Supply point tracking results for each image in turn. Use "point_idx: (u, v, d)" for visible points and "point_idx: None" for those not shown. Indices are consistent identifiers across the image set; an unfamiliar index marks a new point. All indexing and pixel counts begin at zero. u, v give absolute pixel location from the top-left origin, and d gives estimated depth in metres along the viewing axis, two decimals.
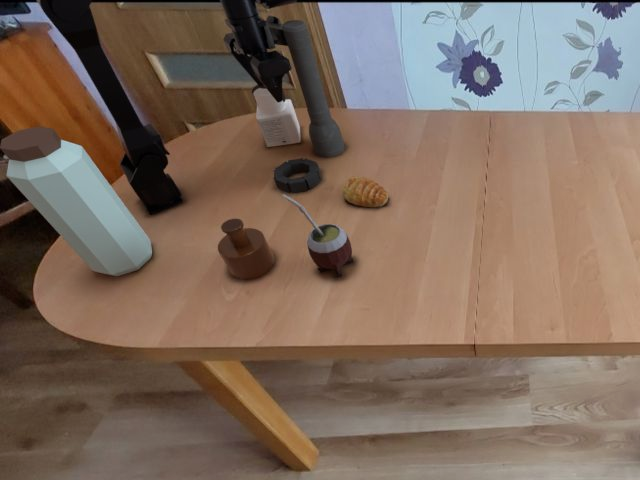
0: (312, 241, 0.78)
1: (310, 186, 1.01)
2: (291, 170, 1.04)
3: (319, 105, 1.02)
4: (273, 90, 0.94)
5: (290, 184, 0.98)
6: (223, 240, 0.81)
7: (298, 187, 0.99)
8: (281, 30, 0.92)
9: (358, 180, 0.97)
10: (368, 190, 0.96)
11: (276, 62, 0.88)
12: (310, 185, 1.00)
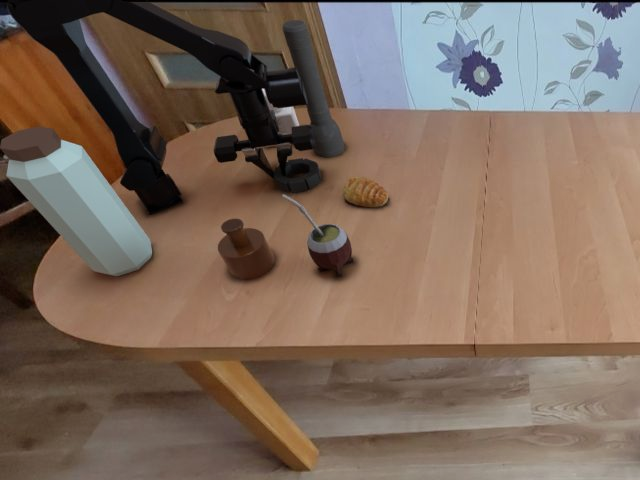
0: (312, 241, 0.78)
1: (310, 186, 1.01)
2: (291, 170, 1.04)
3: (319, 105, 1.02)
4: (285, 166, 0.99)
5: (290, 184, 0.98)
6: (223, 240, 0.81)
7: (298, 187, 0.99)
8: (272, 112, 0.96)
9: (358, 180, 0.97)
10: (368, 190, 0.96)
11: (311, 131, 0.97)
12: (310, 185, 1.00)
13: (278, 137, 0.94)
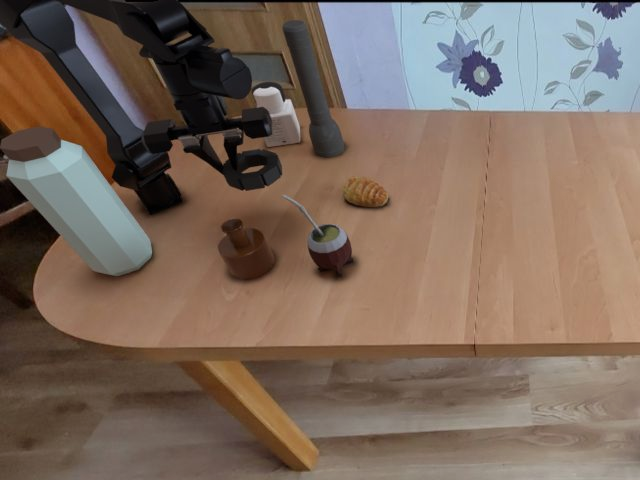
0: (312, 241, 0.78)
1: (268, 183, 0.83)
2: (246, 163, 0.86)
3: (319, 105, 1.02)
4: (236, 158, 0.81)
5: (242, 180, 0.80)
6: (223, 240, 0.81)
7: (253, 183, 0.81)
8: None
9: (358, 180, 0.97)
10: (368, 190, 0.96)
11: (267, 114, 0.79)
12: (268, 181, 0.82)
13: (224, 122, 0.76)
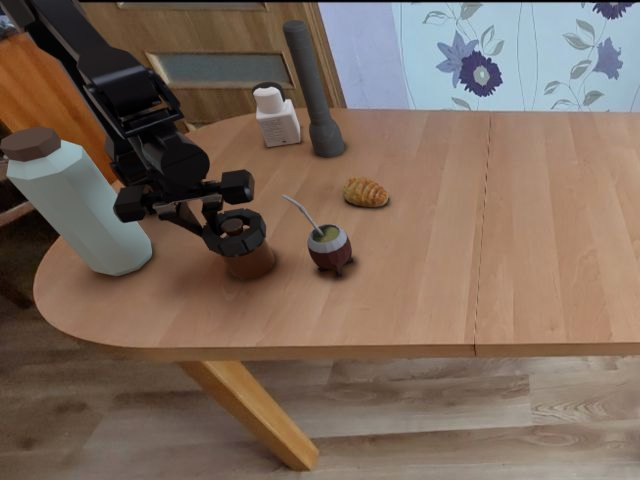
0: (312, 241, 0.78)
1: (250, 247, 0.78)
2: None
3: (319, 105, 1.02)
4: (216, 222, 0.76)
5: (222, 246, 0.75)
6: None
7: (233, 249, 0.76)
8: None
9: (358, 180, 0.97)
10: (368, 190, 0.96)
11: (249, 177, 0.74)
12: (250, 246, 0.78)
13: (203, 187, 0.72)
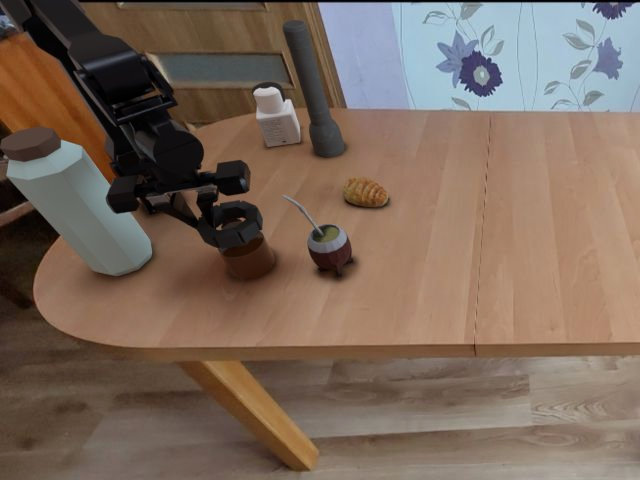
0: (312, 241, 0.78)
1: (246, 240, 0.76)
2: (224, 216, 0.80)
3: (319, 105, 1.02)
4: (212, 213, 0.75)
5: (217, 238, 0.74)
6: None
7: (229, 241, 0.75)
8: None
9: (358, 180, 0.97)
10: (368, 190, 0.96)
11: (244, 168, 0.73)
12: (246, 238, 0.76)
13: (197, 178, 0.70)
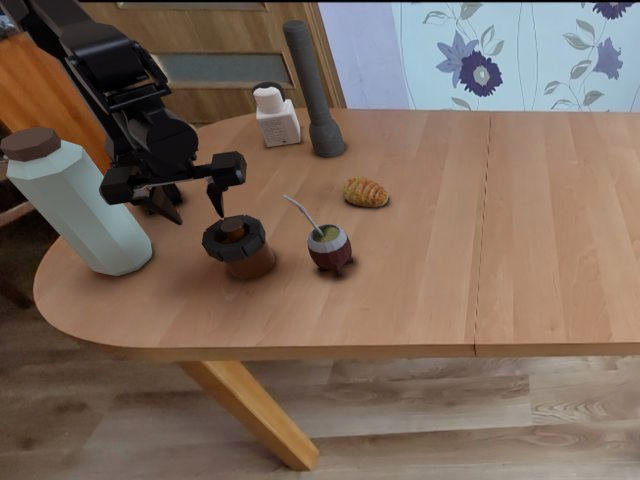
0: (312, 241, 0.78)
1: (249, 254, 0.79)
2: None
3: (319, 105, 1.02)
4: (222, 203, 0.74)
5: (222, 253, 0.76)
6: (223, 240, 0.81)
7: (233, 256, 0.77)
8: None
9: (358, 180, 0.97)
10: (368, 190, 0.96)
11: (240, 159, 0.72)
12: (249, 252, 0.78)
13: (192, 169, 0.69)
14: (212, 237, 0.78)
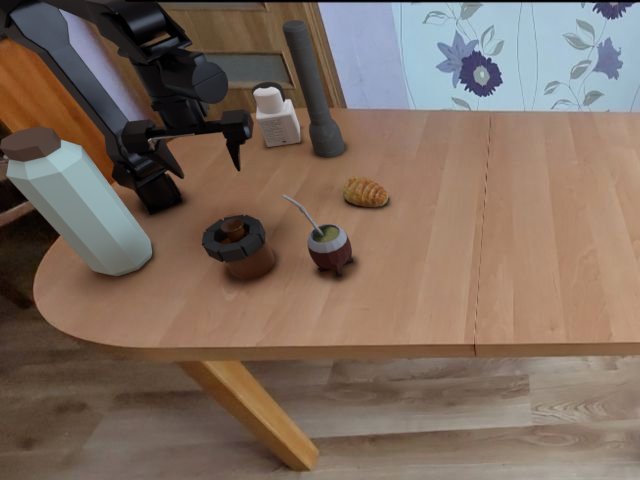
0: (312, 241, 0.78)
1: (249, 254, 0.79)
2: None
3: (319, 105, 1.02)
4: (239, 157, 0.81)
5: (222, 253, 0.76)
6: (223, 240, 0.81)
7: (233, 256, 0.77)
8: None
9: (358, 180, 0.97)
10: (368, 190, 0.96)
11: (248, 117, 0.78)
12: (249, 252, 0.78)
13: (204, 123, 0.76)
14: (212, 237, 0.78)
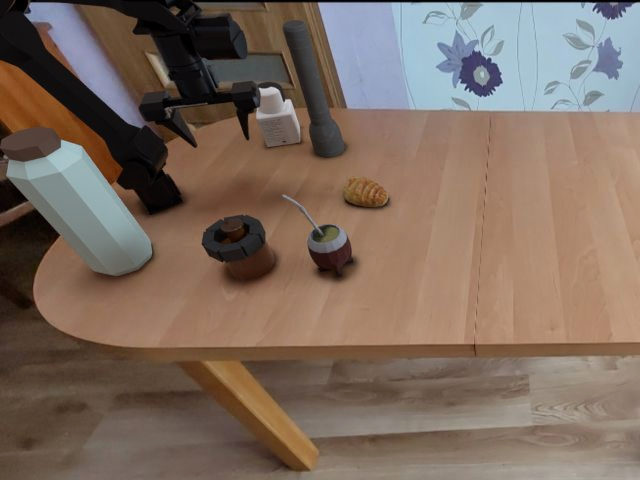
0: (312, 241, 0.78)
1: (249, 254, 0.79)
2: None
3: (319, 105, 1.02)
4: None
5: (222, 253, 0.76)
6: (223, 240, 0.81)
7: (233, 256, 0.77)
8: (210, 66, 0.84)
9: (358, 180, 0.97)
10: (368, 190, 0.96)
11: (256, 87, 0.84)
12: (249, 252, 0.78)
13: (216, 93, 0.82)
14: (212, 237, 0.78)
